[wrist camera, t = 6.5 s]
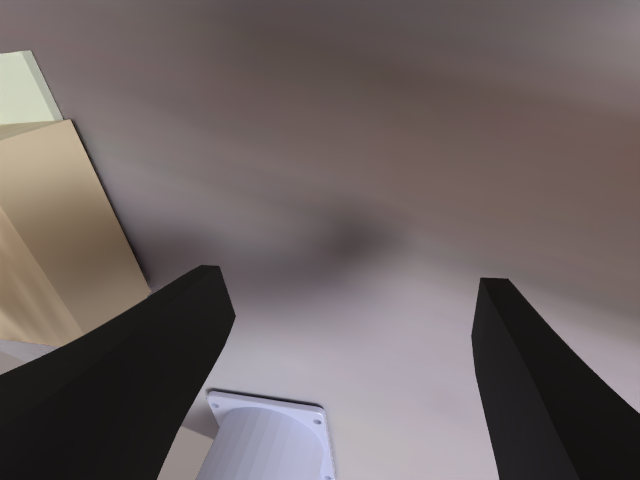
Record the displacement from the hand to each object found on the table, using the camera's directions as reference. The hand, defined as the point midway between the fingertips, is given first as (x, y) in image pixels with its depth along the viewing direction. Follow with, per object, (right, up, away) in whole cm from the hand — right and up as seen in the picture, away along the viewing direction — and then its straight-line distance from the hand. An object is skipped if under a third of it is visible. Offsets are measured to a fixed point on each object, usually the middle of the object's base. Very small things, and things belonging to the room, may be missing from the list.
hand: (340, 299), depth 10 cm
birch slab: (-11, +2, +5) cm, 12 cm away
